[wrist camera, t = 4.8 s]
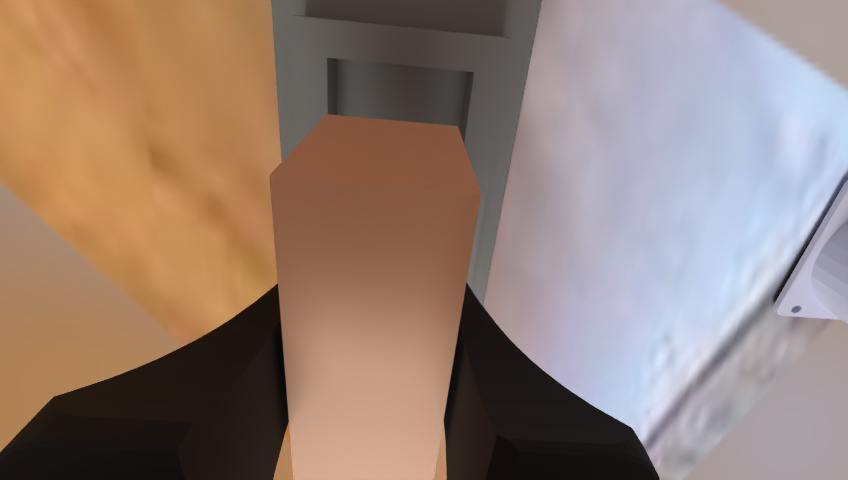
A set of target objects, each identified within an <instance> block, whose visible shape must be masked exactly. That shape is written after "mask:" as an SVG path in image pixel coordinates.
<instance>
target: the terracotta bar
mask: <svg viewBox="0 0 848 480" xmlns="http://www.w3.org/2000/svg"><path fill="white" fill-rule="evenodd" d="M269 177H270V190H271V202H272V215H273V227H274V240H275V252H276V265H277V277H278V290H279V302H280V315H281V328H282V340H283V353H284V365H285V378H286V390H287V403H288V415H289V428H290V440H291V453H292V465H293V478H294V480H434V475H435V469H436V463H437V457H438V451H439V445H440V438H441V432H442V426H443V420H444V414H445V408H446V402H447V396H448V390H449V384H450V378H451V372H452V366H453V360H454V354H455V348H456V342H457V336H458V330H459V324H460V318H461V312H462V306H463V300H464V294H465V288H466V282H467V276H468V270H469V264H470V258H471V252H472V246H473V240H474V234H475V228H476V222H477V216H478V210H479V204H480V198H481V191H480V188H479V186H478V183H477V180H476V177H475V174H474V171H473V168H472V166H471V163H470V160H469V157H468V154H467V151H466V148H465V145H464V143H463V140H462V137H461V134H460V131H459V128H458V126H450V125H439V124H428V123H417V122H406V121H395V120H384V119H373V118H362V117H351V116H340V115H329V114H326V115H325V116H324V117H323V118H322V120H321V121H320V122H319V123H318V124H317V125H316V126H315V127H314V128H313V129H312V130H311V131H310V132H309V134H308V135H307V136H306V137H305V138H304V139H303V140H302V141H301V142H300V143H299V144H298V145H297V146H296V148H295V149H294V150H293V151H292V152H291V153H290V154H289V155H288V156H287V157H286V158H285V159H284V160H283V162H282V163H281V164H280V165H279V166H278V167H277V168H276V169H275V170H274V171H273V172H272V173H271V174H270V176H269Z"/></svg>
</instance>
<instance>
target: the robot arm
mask: <svg viewBox="0 0 848 480" xmlns="http://www.w3.org/2000/svg"><path fill="white" fill-rule="evenodd" d="M773 309H774V310H775V311H776V312H777V313H778V314H779V315H782V316H796V317H811V318H825V319H839V320H843V321H844V322H845V323H847V324H848V180H847V181H846V182H845V183H844V185H843V187H842V189H841V190H840V192H839V194H838V195H837V197H836V199H835V201H834V202H833V204H832V206H831V207H830V209H829V211H828V213H827V214H826V216H825V218H824V219H823V221H822V223H821V224H820V226H819V228H818V230H817V231H816V233H815V235H814V236H813V238H812V240H811V242H810V243H809V245H808V247H807V248H806V250H805V252H804V254H803V255H802V257H801V259H800V260H799V262H798V264H797V266H796V267H795V269H794V271H793V272H792V274H791V276H790V278H789V279H788V281H787V283H786V284H785V286H784V288H783V290H782V291H781V293H780V295H779V296H778V298H777V300H776V302H775V303H774V306H773ZM288 422H289V415H288V403H287V390H286V378H285V365H284V353H283V340H282V328H281V315H280V302H279V290H278V284H276V285H275V286H274V287H273V288H272V289H271V290H269V291H268V292H267V293H266V294H264V295H263V296H262V297H261V298H259V299H258V300H257V301H256V302H254V303H253V304H252V305H250V306H249V307H247V308H246V309H245V310H243V311H242V312H240V313H239V314H238V315H236V316H235V317H233V318H232V319H230V320H229V321H227V322H226V323H224V324H223V325H221V326H220V327H218V328H216V329H215V330H213V331H211V332H209V333H208V334H206V335H204V336H203V337H201V338H199V339H197V340H195V341H193V342H191V343H189V344H187V345H185V346H183V347H181V348H179V349H177V350H175V351H173V352H171V353H169V354H167V355H165V356H163V357H161V358H159V359H157V360H155V361H152V362H150V363H147V364H145V365H143V366H140V367H138V368H135V369H133V370H130V371H128V372H125V373H123V374H120V375H118V376H115V377H113V378H110V379H107V380H104V381H101V382H98V383H95V384H92V385H89V386H86V387H83V388H80V389H77V390H74V391H71V392H68V393H65V394H61V395H58V396H55V397H53V398H52V399H51V400H50V401H49V402H48V403H47V404H46V405H45V406H44V407H43V408H42V409H41V410H40V412H38V413H37V414H36V416H35V417H34V418H33V419H32V420H31V421H30V422H29V423H28V424H27V425H26V426H25V427H24V428H23V429H22V430H21V431H20V432H19V433H18V434H17V435H16V436H15V438H14V439H13V440H12V441H11V442H10V443H9V444H8V445H7V446H6V447H5V448H4V449H3V450H2V451H1V452H0V480H273V477H274V473H275V469H276V465H277V461H278V458H279V454H280V450H281V446H282V442H283V438H284V435H285V431H286V428H287V425H288ZM444 427H445V439H446V465H447V480H659V476H658V474H657V472H656V470H655V468H654V466H653V464H652V462H651V460H650V458H649V456H648V454H647V452H646V450H645V448H644V447H643V445H642V443H641V442H640V440H639V439H638V437H637V435H636V434H635V432H634V430H633V429H632V428H631V427H629V426H627V425H626V424H624V423H622V422H620V421H618V420H617V419H615V418H613V417H611V416H610V415H608V414H606V413H604V412H602V411H601V410H599V409H597V408H595V407H594V406H592V405H591V404H589V403H588V402H586V401H585V400H583V399H581V398H580V397H578V396H577V395H575V394H574V393H572V392H571V391H569V390H568V389H567V388H565V387H564V386H562V385H561V384H560V383H558V382H557V381H556V380H555V379H553V378H552V377H551V376H549V375H548V374H547V373H546V372H544V371H543V370H542V369H541V368H539V367H538V366H537V365H536V364H535V363H534V362H532V361H531V360H530V359H529V358H528V357H527V356H526V355H525V354H524V353H523V352H522V351H521V350H520V349H519V348H518V347H516V345H515V344H514V343H513V342H512V341H511V340H510V339H509V338H508V337H507V336H506V335H505V334H504V332H503V331H502V330H501V329H500V328H499V326H498V325H497V324H496V323H495V322H494V320H493V319H492V318H491V316H490V315H489V314H488V312H487V311H486V310H485V309H484V307H483V306H482V304H481V303H480V301H479V300H478V299H477V297H476V296H475V294H474V293H473V291H472V290H471V288H470V287H469V285H468V283H467V282H466V288H465V294H464V300H463V306H462V312H461V318H460V324H459V330H458V336H457V342H456V348H455V354H454V360H453V366H452V372H451V378H450V384H449V390H448V396H447V402H446V408H445V414H444Z"/></svg>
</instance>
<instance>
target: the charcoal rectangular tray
mask: <svg viewBox="0 0 848 480" xmlns="http://www.w3.org/2000/svg"><path fill="white" fill-rule="evenodd" d="M541 1H542V0H271V2H272V17H273V33H274V48H275V64H276V80H277V95H278V111H279V126H280V142H281V157H282V162H283V160H284V159H285V158H286V157H287V156H288V155H289V154H290V153H291V152H292V151H293V150H294V149H295V148H296V146H297V145H298V144H299V143H300V142H301V141H302V140H303V139H304V138H305V137H306V136H307V135H308V134H309V132H310V131H311V130H312V129H313V128H314V127H315V126H316V125H317V124H318V123H319V122H320V121H321V120H322V118H323V117H324V116H325V115H326V114H329V115H340V116H351V117H362V118H373V119H384V120H395V121H406V122H417V123H428V124H439V125H450V126H458V128H459V131H460V134H461V137H462V140H463V143H464V145H465V148H466V151H467V154H468V157H469V160H470V163H471V166H472V168H473V171H474V174H475V177H476V180H477V183H478V186H479V188H480V191H481V198H480V204H479V210H478V216H477V222H476V228H475V234H474V240H473V246H472V252H471V258H470V264H469V270H468V276H467V283H468V285H469V287H470V288H471V290H472V291H473V293H474V294H475V296H476V297H477V299H478V300H479V301H480V303H481V304H482V306H483V301H484V296H485V291H486V285H487V280H488V275H489V270H490V265H491V260H492V254H493V249H494V244H495V239H496V234H497V229H498V223H499V218H500V213H501V208H502V203H503V198H504V192H505V187H506V182H507V177H508V172H509V167H510V161H511V156H512V151H513V146H514V141H515V136H516V130H517V125H518V120H519V115H520V110H521V104H522V99H523V94H524V89H525V84H526V79H527V73H528V68H529V63H530V58H531V53H532V48H533V42H534V37H535V32H536V27H537V22H538V17H539V11H540V6H541Z"/></svg>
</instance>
